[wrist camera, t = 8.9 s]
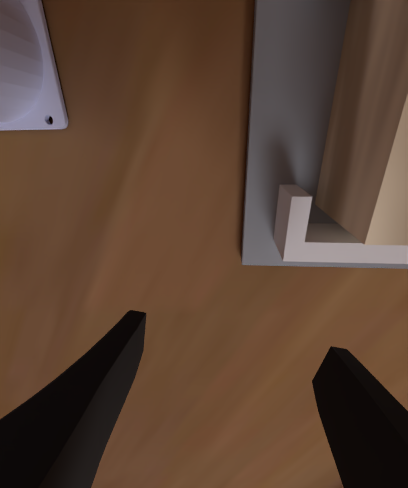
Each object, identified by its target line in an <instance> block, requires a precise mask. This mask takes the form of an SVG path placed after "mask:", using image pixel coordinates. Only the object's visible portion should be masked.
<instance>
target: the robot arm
mask: <svg viewBox="0 0 408 488" xmlns="http://www.w3.org/2000/svg"><path fill="white" fill-rule="evenodd" d="M50 116H51V117H52V119H53V124H51V123H50V122H49V117H50ZM67 126H68V118H67V113H66V109H65V104H64V100H63V95H62V91H61V86H60V82H59V77H58V73H57V68H56V64H55V59H54V55H53V51H52V46H51V42H50V37H49V33H48V28H47V24H46V19H45V15H44V10H43V6H42V1H41V0H0V130H42V129H65V128H66V127H67ZM145 323H146V313H144V312H139V311H133V310H130V311H128V312H127V313H126V314H125V315H124V316H123V318H122V319H121V320H120V321H119V322H118V323H117V324H116V325H115V326H114V327H113V328H112V329H111V330H110V331H109V332H108V333H107V334H106V335H105V336H104V337H103V338H102V339H101V340H99V341H98V342H97V343H96V344H95V345H94V346H93V347H92V348H91V349H90V350H89V351H88V352H87V353H85V354H84V355H83V356H82V357H81V358H80V359H78V360H77V361H76V362H75V363H74V364H73V365H71V366H70V367H69V368H68V369H67V370H66V371H64V372H63V373H62V374H61V375H60V376H58V377H57V378H56V379H55V380H53V381H52V382H51V383H50V384H48V385H47V386H46V387H44V388H43V389H42V390H40V391H39V392H38V393H36V394H35V395H34V396H32V397H31V398H30V399H28V400H27V401H26V402H24V403H23V404H21V405H20V406H19V407H17V408H16V409H14V410H13V411H11V412H10V413H9V414H7V415H6V416H4V417H3V418H1V419H0V488H91V486H92V483H93V480H94V477H95V475H96V472H97V469H98V466H99V463H100V460H101V457H102V455H103V452H104V450H105V447H106V444H107V442H108V440H109V437H110V435H111V433H112V430H113V428H114V426H115V423H116V421H117V419H118V416H119V414H120V412H121V409H122V407H123V404H124V402H125V400H126V397H127V395H128V393H129V390H130V388H131V386H132V383H133V381H134V378H135V375H136V372H137V369H138V366H139V363H140V360H141V356H142V353H143V348H144V335H145ZM312 383H313V389H314V394H315V399H316V403H317V407H318V412H319V415H320V418H321V421H322V424H323V427H324V430H325V433H326V436H327V439H328V442H329V445H330V448H331V451H332V454H333V457H334V460H335V463H336V466H337V469H338V472H339V475H340V478H341V481H342V484H343V487H344V488H408V411H407V410H406V409H405V408H404V407H403V406H402V405H401V404H400V403H399V402H398V401H397V400H396V399H395V398H394V397H393V396H392V395H391V394H390V393H389V392H388V391H387V390H386V389H385V388H384V387H383V386H382V384H381V383H380V382H379V381H378V380H377V379H376V378H375V377H374V376H373V375H372V374H371V373H370V372H369V371H368V370H367V369H366V368H365V367H364V366H363V365H362V364H361V363H360V362H359V361H358V360H357V359H356V358H355V357H354V356H353V355H352V354H351V353H350V352H349V351H348V350H347V349H343V348H337V347H332V346H331V347H330V349H329V351H328V353H327V355H326V356H325V358H324V360H323V362H322V364H321V366H320V368H319V369H318V371H317V373H316V375H315V377H314V379H313V380H312Z"/></svg>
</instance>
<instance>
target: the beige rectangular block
mask: <svg viewBox="0 0 408 488" xmlns="http://www.w3.org/2000/svg"><path fill="white" fill-rule="evenodd" d="M315 205H316V206H318V207H319V208H320V209H321V210H323V211H324V212H325V213H326V214H327V215H329V216H330V217H331V218H332V219H334V220H335V221H336V222H337V223H338V224H340V225H341V226H342V227H343V228H344V229H346V230H347V231H348V232H349V233H351V234H352V235H353V236H354V237H355V238H357V239H358V240H359V241H360V242H362V243H363V244H364V245H408V0H351V1H350V7H349V13H348V18H347V24H346V30H345V35H344V41H343V47H342V52H341V58H340V64H339V69H338V75H337V81H336V87H335V92H334V98H333V104H332V109H331V115H330V121H329V126H328V132H327V138H326V143H325V149H324V155H323V160H322V166H321V172H320V177H319V183H318V189H317V194H316V200H315Z"/></svg>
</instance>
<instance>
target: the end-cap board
mask: <svg viewBox="0 0 408 488" xmlns="http://www.w3.org/2000/svg"><path fill="white" fill-rule="evenodd" d="M350 1H351V0H255V12H254V30H253V49H252V67H251V86H250V104H249V123H248V141H247V160H246V178H245V197H244V215H243V234H242V252H241V261H242V265H269V266H314V267H358V268H403V269H408V245H364V244H363V243H362V242H360V241H359V240H358V239H357V238H355V237H354V236H353V235H352V234H351V233H349V232H348V231H347V230H346V229H344V228H343V227H342V226H341V225H340V224H338V223H337V222H336V221H335V220H334V219H332V218H331V217H330V216H329V215H327V214H326V213H325V212H324V211H323V210H321V209H320V208H319V207H318V206H316V205H315V200H316V194H317V189H318V183H319V177H320V172H321V166H322V160H323V155H324V149H325V143H326V138H327V132H328V126H329V121H330V115H331V109H332V104H333V98H334V92H335V87H336V81H337V75H338V69H339V64H340V58H341V52H342V47H343V41H344V35H345V30H346V24H347V18H348V13H349V7H350Z"/></svg>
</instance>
